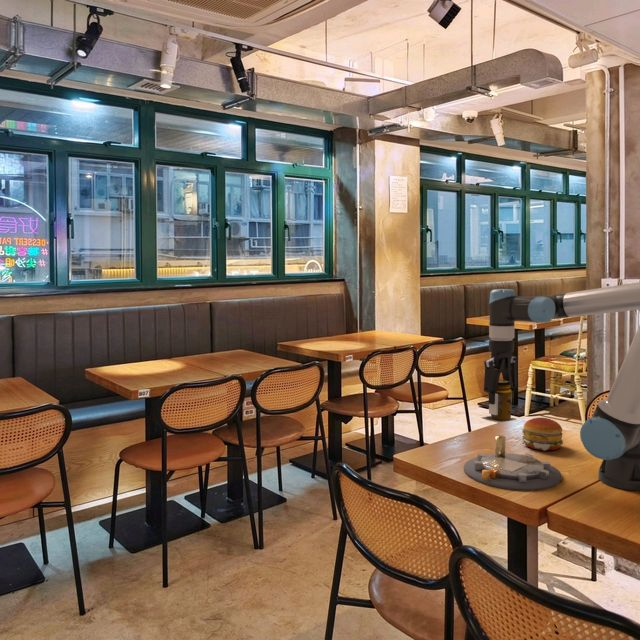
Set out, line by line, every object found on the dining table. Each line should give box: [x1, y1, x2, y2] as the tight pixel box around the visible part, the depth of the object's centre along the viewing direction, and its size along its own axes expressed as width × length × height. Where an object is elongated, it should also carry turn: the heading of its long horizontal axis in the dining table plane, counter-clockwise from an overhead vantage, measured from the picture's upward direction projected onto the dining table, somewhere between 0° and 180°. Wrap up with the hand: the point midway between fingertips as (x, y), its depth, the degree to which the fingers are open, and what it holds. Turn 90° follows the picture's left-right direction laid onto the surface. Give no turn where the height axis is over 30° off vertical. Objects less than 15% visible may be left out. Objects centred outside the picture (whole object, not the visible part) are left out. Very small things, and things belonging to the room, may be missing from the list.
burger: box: [521, 417, 564, 451], centre depth 212 cm, size 13×14×10 cm
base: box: [463, 456, 563, 491], centre depth 186 cm, size 28×28×4 cm
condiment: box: [480, 379, 517, 424], centre depth 193 cm, size 7×8×12 cm
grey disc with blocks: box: [474, 434, 552, 482], centre depth 186 cm, size 22×22×8 cm
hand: (500, 412), depth 194 cm, fingers closed on condiment, 6 cm apart
